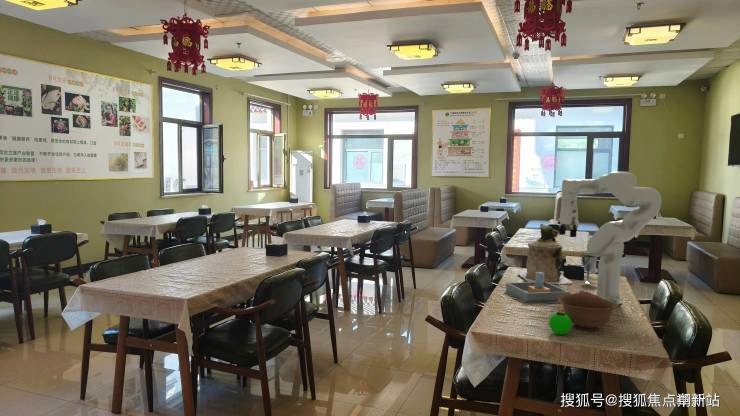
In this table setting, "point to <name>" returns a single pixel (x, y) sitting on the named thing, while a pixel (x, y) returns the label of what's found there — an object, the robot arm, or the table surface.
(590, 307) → the bowl
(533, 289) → the frame
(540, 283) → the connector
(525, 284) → the walled box
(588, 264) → the wine glass
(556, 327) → the ornament
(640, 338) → the table surface
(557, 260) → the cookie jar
